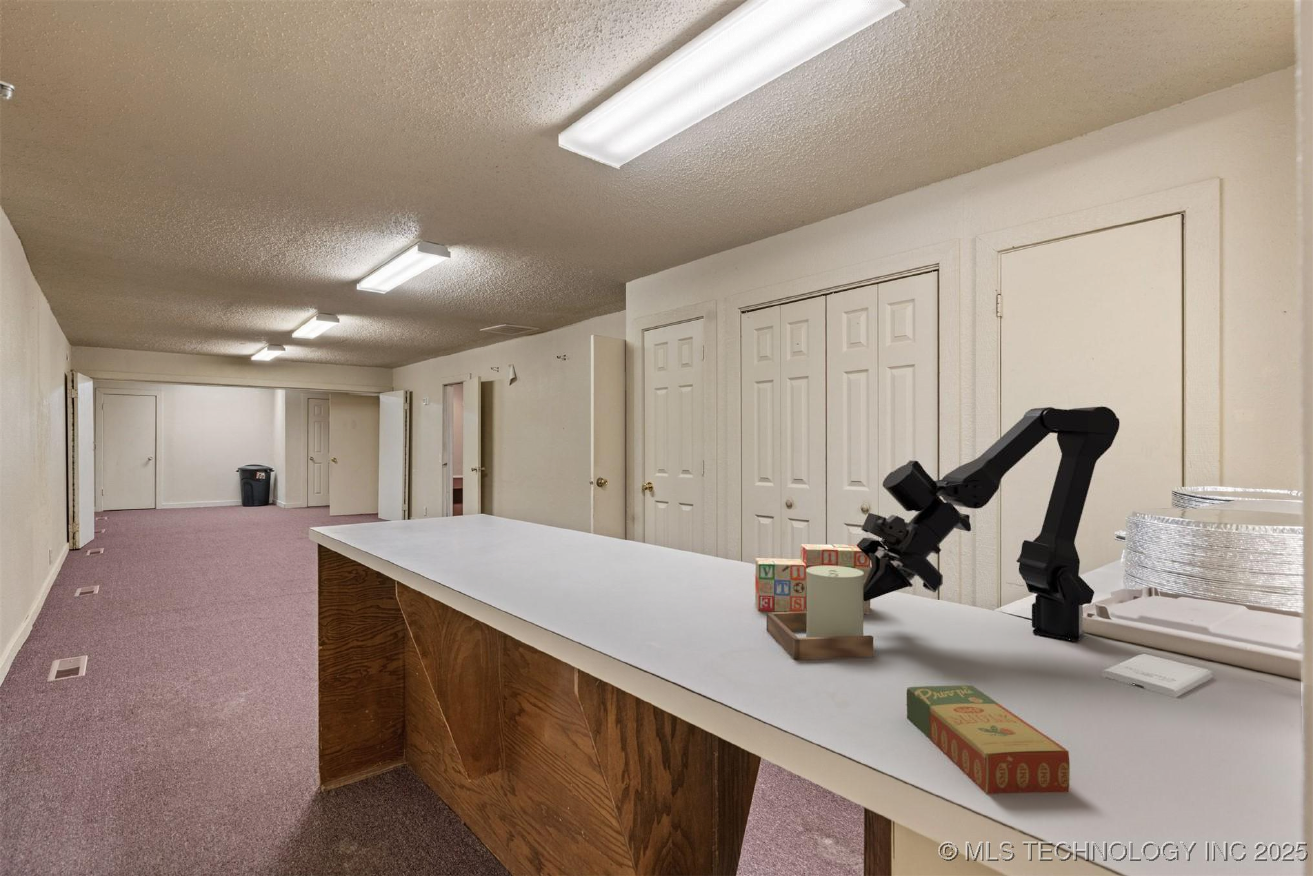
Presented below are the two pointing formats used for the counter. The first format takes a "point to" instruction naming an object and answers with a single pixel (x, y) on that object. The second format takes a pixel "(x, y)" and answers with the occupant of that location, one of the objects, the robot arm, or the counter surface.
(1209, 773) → the counter surface
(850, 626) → the can
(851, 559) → the stack of blocks
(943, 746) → the carton
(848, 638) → the walnut bay
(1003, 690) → the counter surface
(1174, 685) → the external hard drive
